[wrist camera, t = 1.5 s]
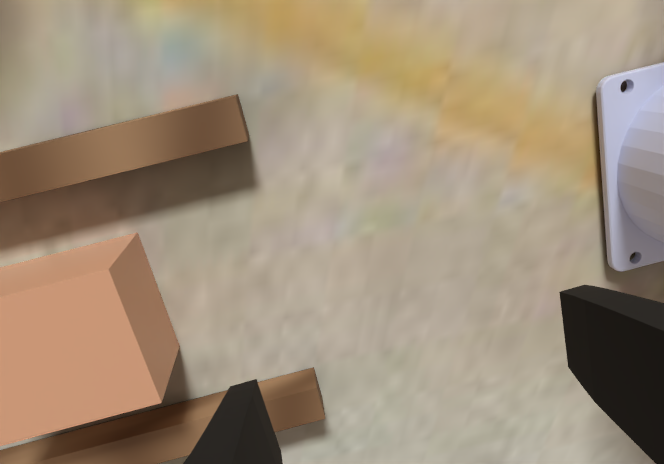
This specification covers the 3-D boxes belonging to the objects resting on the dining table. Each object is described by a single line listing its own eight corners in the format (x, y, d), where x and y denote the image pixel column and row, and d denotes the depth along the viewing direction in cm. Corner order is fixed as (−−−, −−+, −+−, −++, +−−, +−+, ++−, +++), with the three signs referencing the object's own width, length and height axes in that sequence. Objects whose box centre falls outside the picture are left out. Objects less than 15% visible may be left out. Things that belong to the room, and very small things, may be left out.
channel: (237, 94, 19) (235, 96, 18) (322, 396, 23) (325, 418, 22) (-158, 190, 18) (-193, 200, 17) (0, 482, 22) (-18, 510, 21)
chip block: (138, 231, 20) (108, 269, 16) (180, 344, 22) (161, 402, 18) (-19, 271, 20) (-86, 319, 16) (34, 382, 22) (-15, 450, 18)
